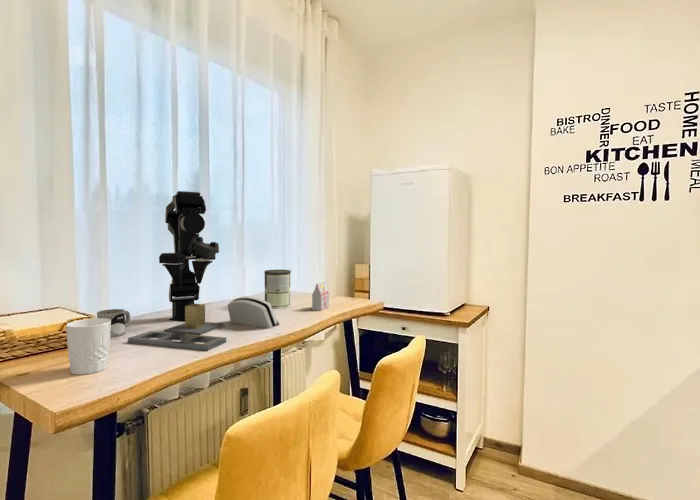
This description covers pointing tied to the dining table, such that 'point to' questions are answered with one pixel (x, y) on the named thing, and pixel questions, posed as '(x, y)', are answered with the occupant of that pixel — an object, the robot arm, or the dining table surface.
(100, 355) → the white cup
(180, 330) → the rubber pad
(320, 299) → the milk carton
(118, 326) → the mug
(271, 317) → the grey rounded two-tone device
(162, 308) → the dining table surface
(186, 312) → the mustard yellow block
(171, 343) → the grey slotted frame
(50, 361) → the dining table surface
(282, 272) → the coffee can
